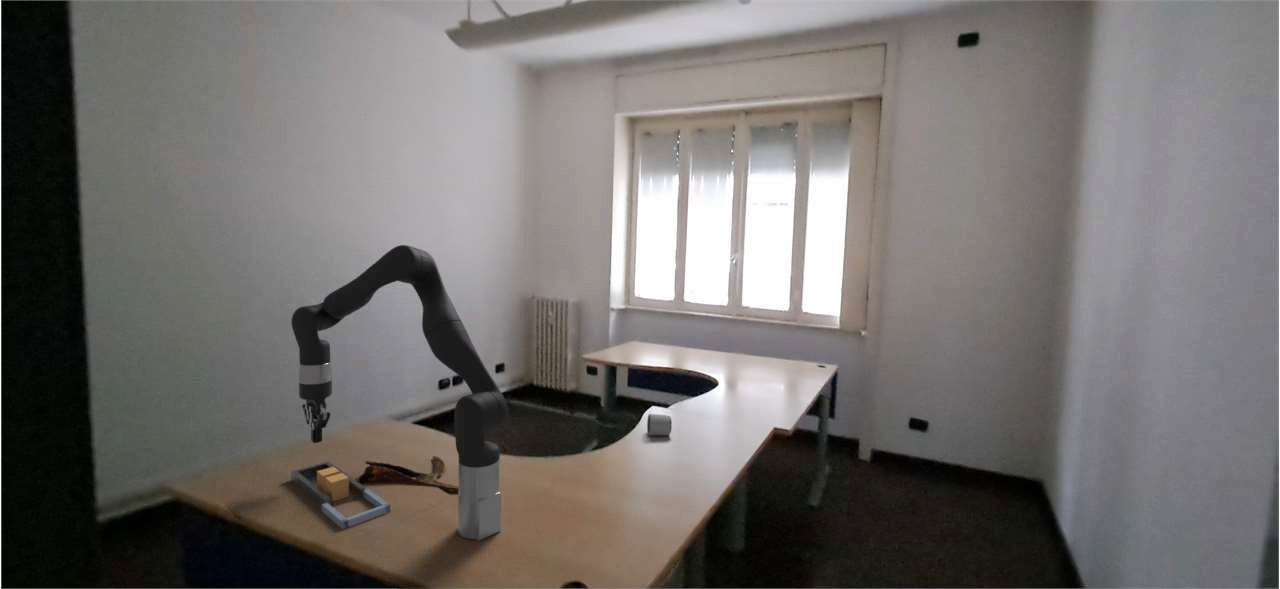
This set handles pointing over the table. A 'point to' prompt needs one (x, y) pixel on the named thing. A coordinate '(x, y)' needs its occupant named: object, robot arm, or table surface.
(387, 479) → the dark wooden branch
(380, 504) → the tray
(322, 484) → the tan cardboard cube
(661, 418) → the grey cylinder
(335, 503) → the rail
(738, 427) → the table surface
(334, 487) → the cardboard box
